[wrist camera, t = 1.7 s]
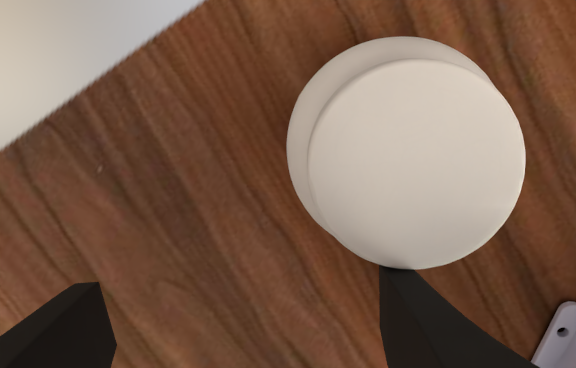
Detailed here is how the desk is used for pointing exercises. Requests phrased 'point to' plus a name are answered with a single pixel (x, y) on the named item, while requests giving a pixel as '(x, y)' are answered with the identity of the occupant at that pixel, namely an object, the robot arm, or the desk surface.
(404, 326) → the robot arm
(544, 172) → the desk surface
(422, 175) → the pill bottle
